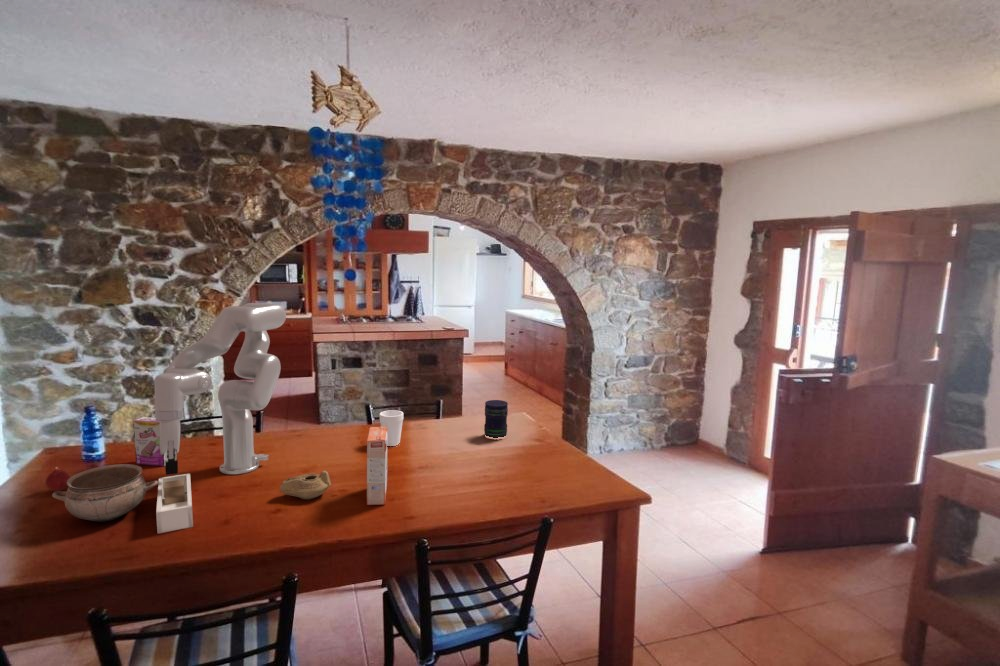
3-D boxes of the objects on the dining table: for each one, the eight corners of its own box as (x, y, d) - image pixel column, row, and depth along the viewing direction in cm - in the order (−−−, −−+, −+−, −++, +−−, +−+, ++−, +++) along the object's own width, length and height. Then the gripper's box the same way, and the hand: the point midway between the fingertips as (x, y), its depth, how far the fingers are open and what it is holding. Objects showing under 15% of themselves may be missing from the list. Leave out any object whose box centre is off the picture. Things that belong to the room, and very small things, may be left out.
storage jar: (481, 439, 231) (482, 405, 229) (486, 432, 240) (487, 399, 238) (505, 441, 229) (506, 406, 227) (508, 434, 239) (509, 400, 237)
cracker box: (386, 505, 168) (386, 439, 165) (366, 506, 167) (365, 440, 164) (388, 486, 181) (388, 425, 179) (369, 487, 180) (369, 426, 178)
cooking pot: (41, 539, 143) (37, 495, 141) (67, 508, 160) (63, 468, 159) (152, 524, 152) (150, 482, 151) (165, 496, 170) (163, 459, 168)
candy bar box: (134, 465, 194) (131, 420, 192) (145, 459, 199) (142, 416, 196) (164, 467, 193) (161, 422, 190) (174, 461, 198) (171, 417, 195)
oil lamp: (279, 493, 174) (278, 469, 173) (327, 485, 181) (327, 462, 180) (282, 507, 164) (281, 482, 163) (333, 499, 171) (333, 474, 170)
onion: (75, 489, 173) (73, 465, 172) (55, 496, 168) (53, 471, 166) (62, 486, 175) (60, 462, 174) (42, 493, 169) (40, 469, 168)
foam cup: (400, 448, 217) (400, 417, 215) (377, 448, 217) (377, 416, 215) (405, 440, 226) (405, 410, 225) (382, 440, 226) (382, 409, 225)
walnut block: (184, 494, 164) (183, 479, 164) (185, 501, 160) (184, 485, 159) (165, 498, 162) (164, 482, 161) (165, 504, 158) (164, 488, 157)
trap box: (191, 491, 174) (190, 473, 173) (193, 526, 152) (192, 506, 151) (160, 496, 170) (158, 478, 169) (157, 533, 147) (156, 512, 147)
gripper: (156, 409, 169) (158, 467, 171) (154, 421, 156) (156, 483, 158) (184, 407, 173) (185, 463, 175) (184, 419, 160) (186, 479, 162)
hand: (171, 473), depth 166 cm, fingers closed
